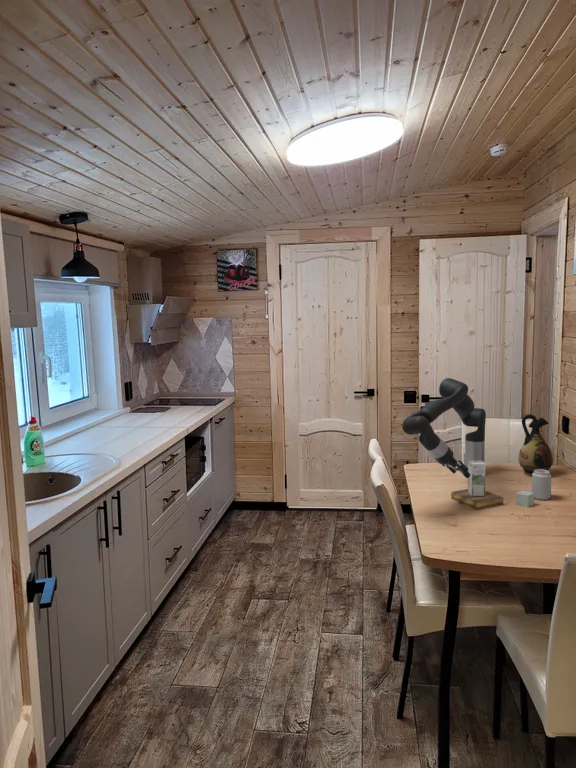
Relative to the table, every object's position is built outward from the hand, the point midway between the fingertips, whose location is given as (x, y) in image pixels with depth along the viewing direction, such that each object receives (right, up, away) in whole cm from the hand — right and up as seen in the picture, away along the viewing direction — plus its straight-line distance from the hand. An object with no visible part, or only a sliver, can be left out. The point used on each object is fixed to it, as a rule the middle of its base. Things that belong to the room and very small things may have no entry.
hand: (461, 474), depth 233 cm
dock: (+8, -12, +5) cm, 16 cm away
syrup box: (+8, -10, +4) cm, 13 cm away
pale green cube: (+26, -13, -1) cm, 29 cm away
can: (+36, -11, +7) cm, 39 cm away
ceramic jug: (+48, -7, +41) cm, 64 cm away
